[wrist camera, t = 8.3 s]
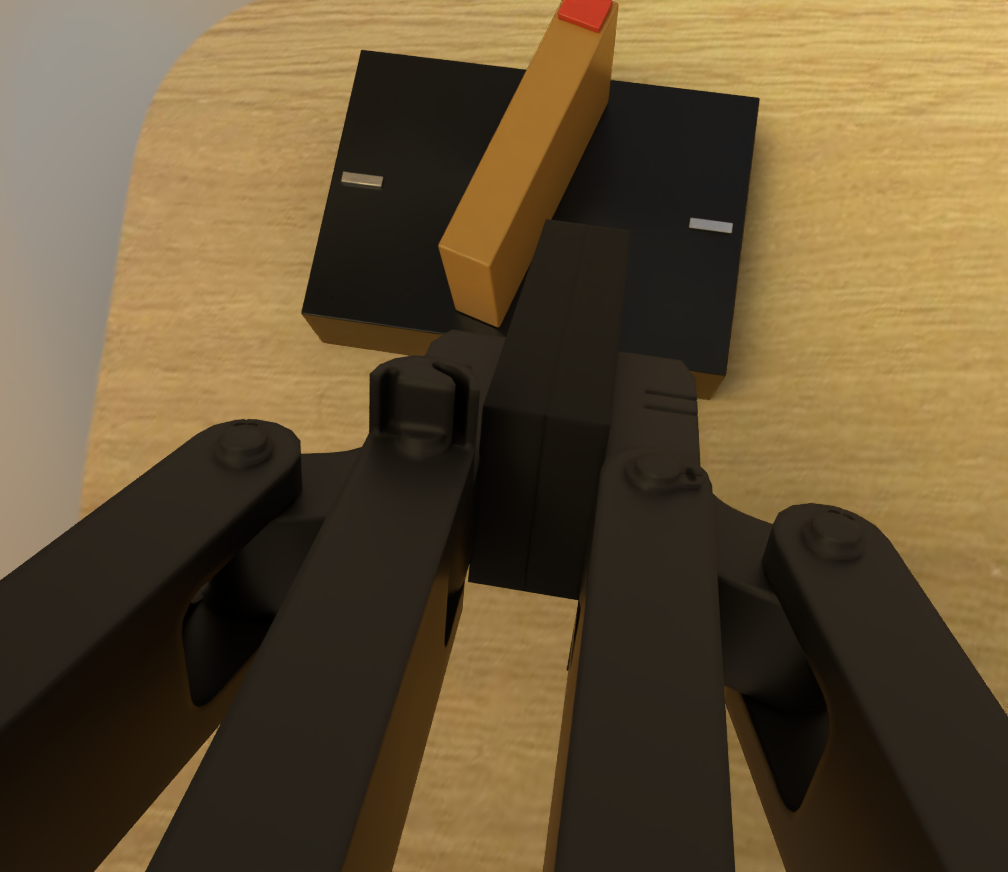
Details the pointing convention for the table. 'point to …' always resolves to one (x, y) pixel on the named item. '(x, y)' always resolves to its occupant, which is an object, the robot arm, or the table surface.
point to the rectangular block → (530, 160)
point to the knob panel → (587, 200)
